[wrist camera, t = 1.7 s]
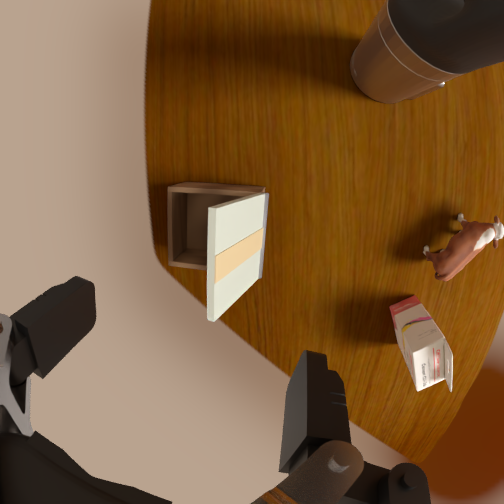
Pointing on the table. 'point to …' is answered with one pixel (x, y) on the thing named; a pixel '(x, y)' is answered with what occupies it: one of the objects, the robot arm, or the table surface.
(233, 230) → the lid
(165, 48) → the table surface
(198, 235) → the box
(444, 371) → the ink cartridge box
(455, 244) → the bull figurine
